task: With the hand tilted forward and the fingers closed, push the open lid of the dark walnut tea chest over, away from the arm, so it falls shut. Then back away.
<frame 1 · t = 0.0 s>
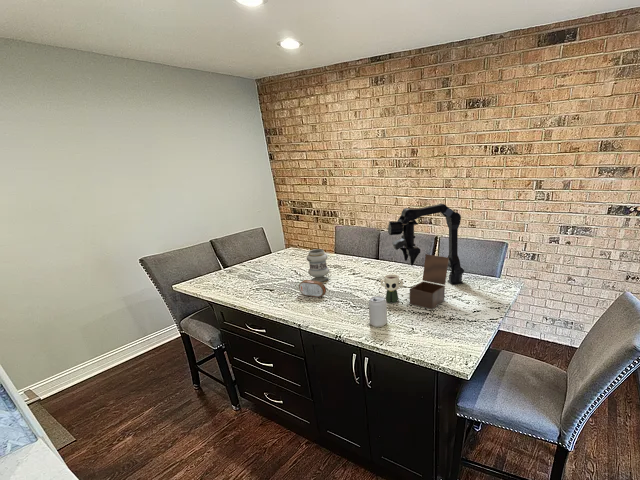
hand: (408, 263, 179), 15 cm above the worktop, tool pointing down, fingers open, 9 cm apart
can: (378, 324, 146), on the worktop
character mug: (392, 301, 169), on the worktop
tin: (313, 296, 177), on the worktop
tea chest: (427, 301, 167), on the worktop
chest lid: (435, 269, 167), point 15 cm above the worktop, hinge at 103.0°
apothecary jar: (319, 280, 200), on the worktop
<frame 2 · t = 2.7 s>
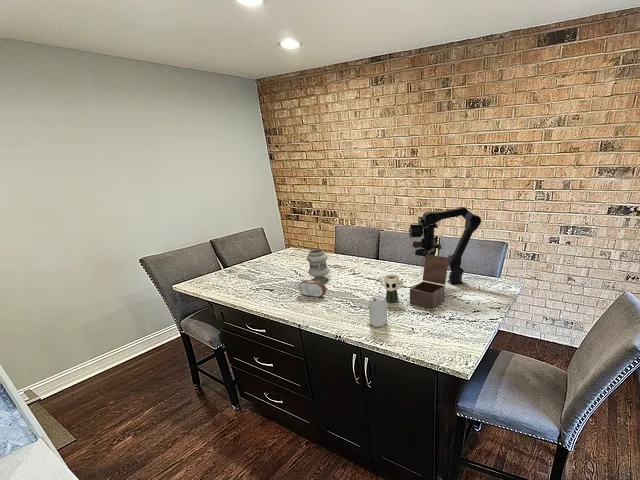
hand: (428, 264, 185), 12 cm above the worktop, tool pointing down, fingers closed
nothing on the worktop moved.
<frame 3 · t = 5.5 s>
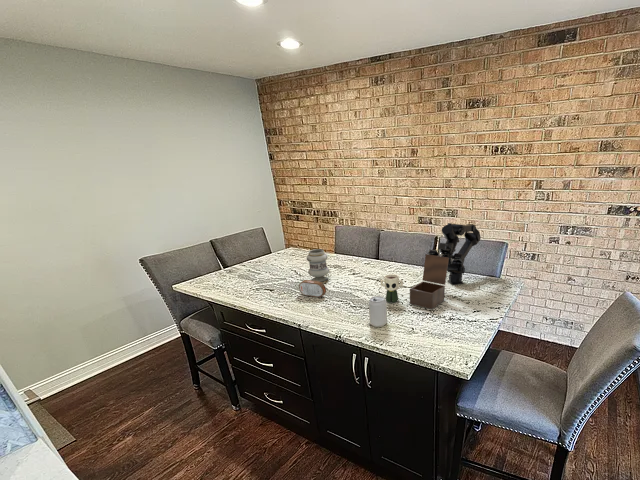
hand: (440, 270, 173), 13 cm above the worktop, tool tilted 45°, fingers closed
nothing on the worktop moved.
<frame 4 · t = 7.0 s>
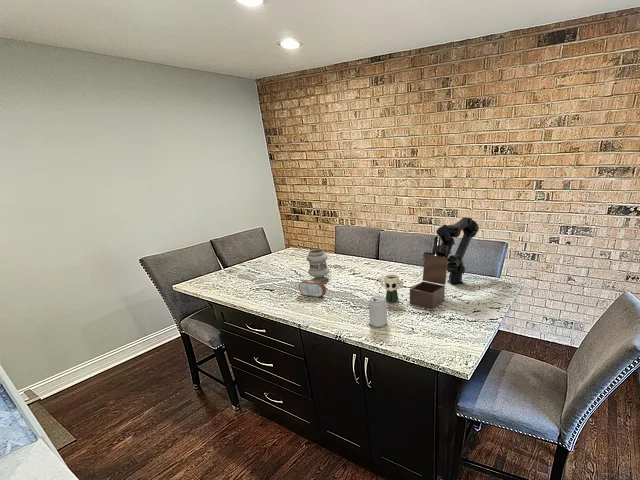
hand: (435, 273, 168), 13 cm above the worktop, tool tilted 45°, fingers closed, pressing on chest lid
chest lid: (434, 269, 167), point 15 cm above the worktop, hinge at 99.4°, touching gripper
everything else where it was.
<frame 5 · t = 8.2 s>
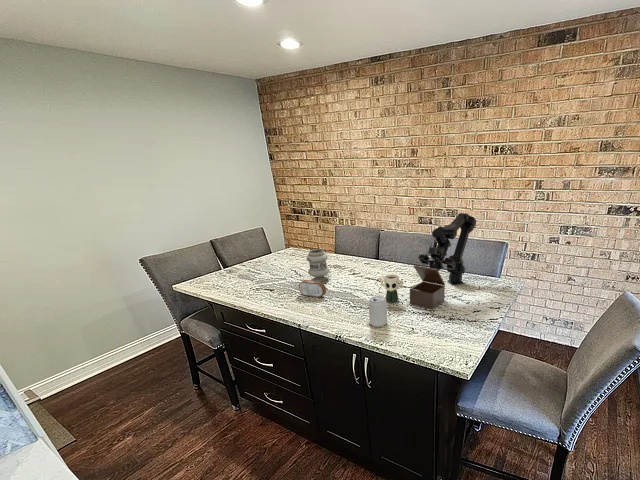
hand: (430, 276, 165), 13 cm above the worktop, tool tilted 45°, fingers closed
chest lid: (429, 275, 164), point 13 cm above the worktop, hinge at 49.3°
everything else where it was.
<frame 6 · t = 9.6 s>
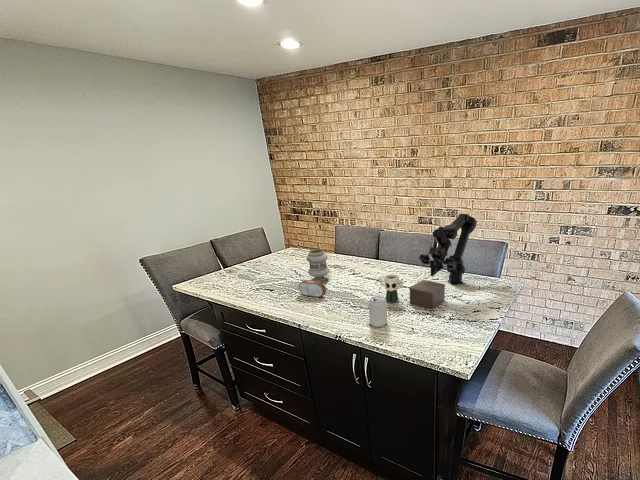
hand: (431, 276, 165), 12 cm above the worktop, tool tilted 45°, fingers closed
chest lid: (427, 286, 164), point 8 cm above the worktop, hinge at -0.2°
everything else where it was.
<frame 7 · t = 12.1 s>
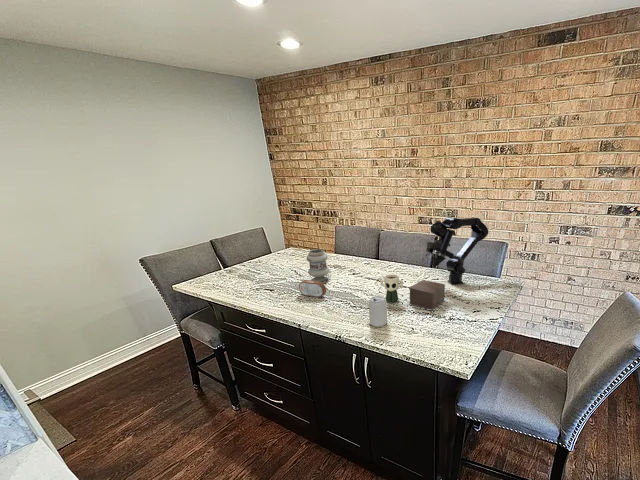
hand: (433, 267, 178), 12 cm above the worktop, tool tilted 30°, fingers closed
nothing on the worktop moved.
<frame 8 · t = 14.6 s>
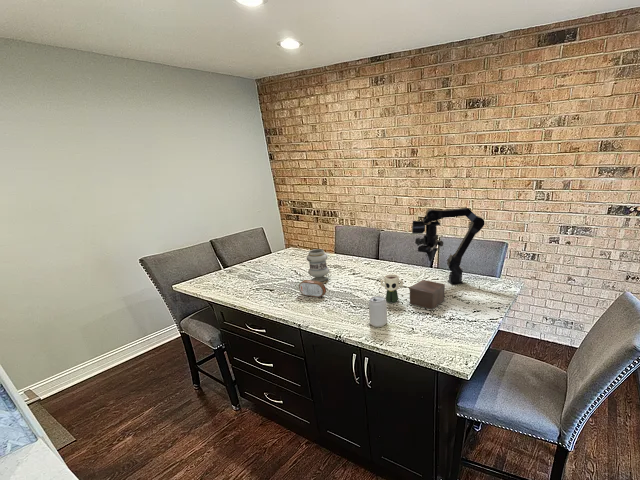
hand: (430, 261, 187), 13 cm above the worktop, tool pointing down, fingers closed
nothing on the worktop moved.
at the end: chest lid at +0° (first picture: +103°); character mug moved 0.2 cm from its start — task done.
